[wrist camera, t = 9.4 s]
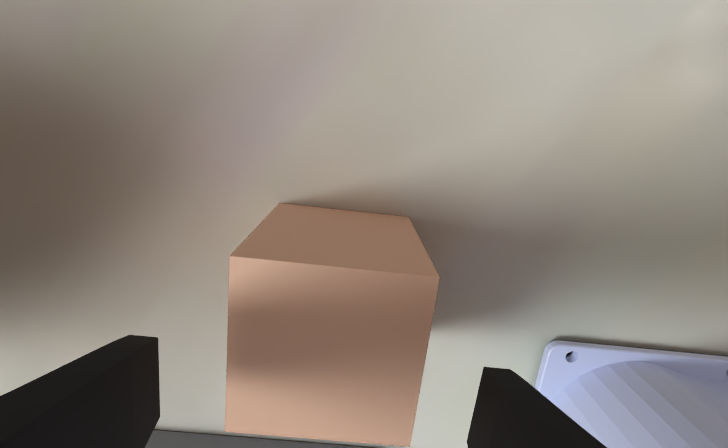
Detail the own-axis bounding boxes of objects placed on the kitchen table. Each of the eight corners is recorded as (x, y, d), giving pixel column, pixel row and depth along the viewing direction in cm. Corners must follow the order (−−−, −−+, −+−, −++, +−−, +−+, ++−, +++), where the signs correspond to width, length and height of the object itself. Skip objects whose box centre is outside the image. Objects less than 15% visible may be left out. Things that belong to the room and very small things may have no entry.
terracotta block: (408, 216, 15) (440, 277, 9) (391, 330, 16) (409, 446, 11) (279, 202, 15) (229, 256, 9) (272, 319, 16) (224, 431, 10)
